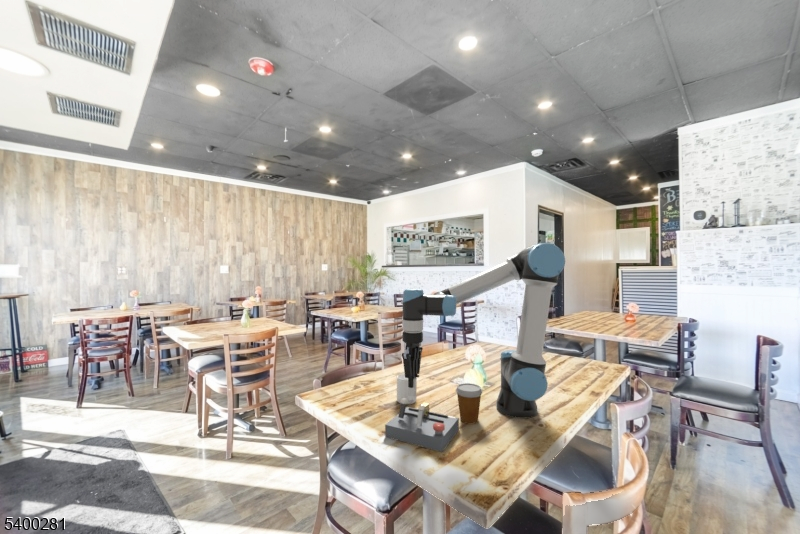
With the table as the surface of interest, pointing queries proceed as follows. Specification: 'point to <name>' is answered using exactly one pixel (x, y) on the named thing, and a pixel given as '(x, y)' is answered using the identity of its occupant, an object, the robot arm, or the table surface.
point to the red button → (439, 428)
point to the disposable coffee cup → (469, 402)
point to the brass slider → (426, 409)
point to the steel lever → (420, 415)
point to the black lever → (402, 408)
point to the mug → (403, 390)
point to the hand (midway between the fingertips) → (412, 395)
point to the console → (422, 429)
